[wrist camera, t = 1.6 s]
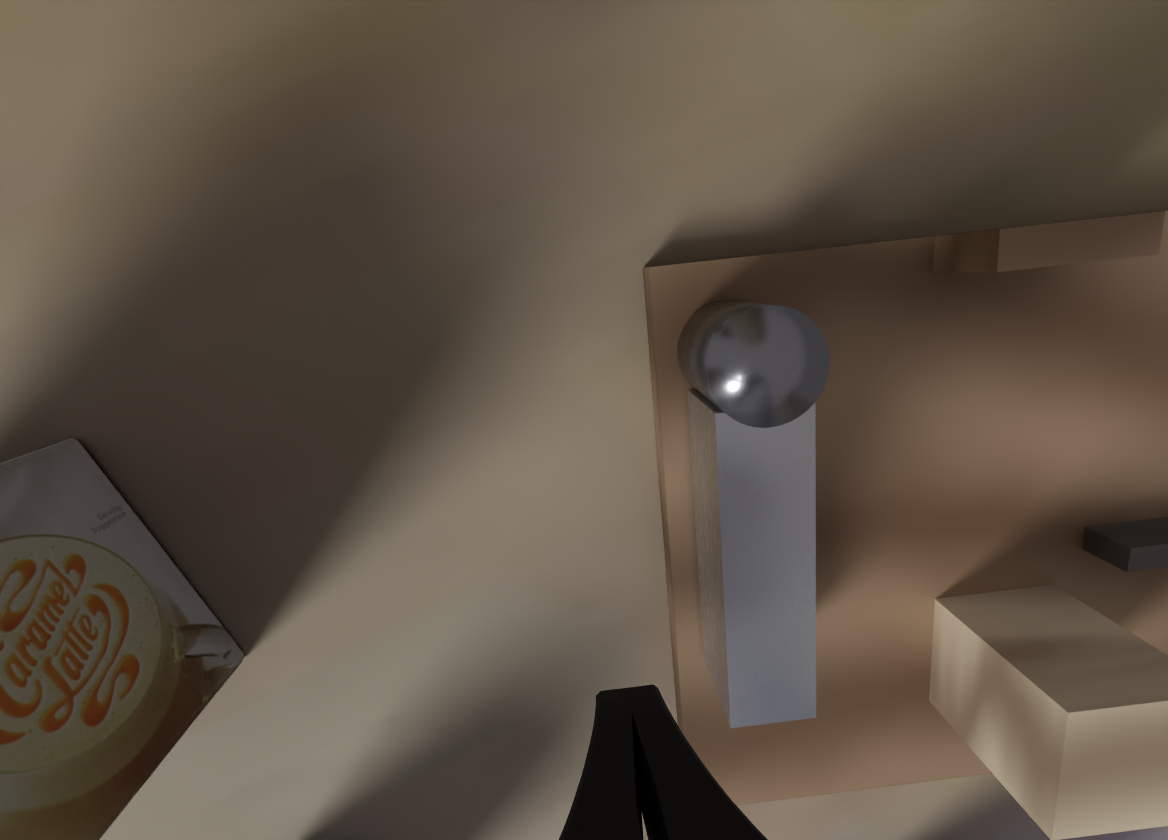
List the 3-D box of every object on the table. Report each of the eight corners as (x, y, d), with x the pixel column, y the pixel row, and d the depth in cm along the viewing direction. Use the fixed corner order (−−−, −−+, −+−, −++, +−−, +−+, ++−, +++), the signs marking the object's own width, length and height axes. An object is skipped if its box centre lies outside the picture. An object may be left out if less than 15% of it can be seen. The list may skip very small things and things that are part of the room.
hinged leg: (673, 305, 16) (704, 312, 12) (773, 294, 16) (829, 298, 12) (696, 655, 19) (726, 737, 15) (780, 645, 19) (828, 725, 15)
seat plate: (1144, 724, 22) (1256, 810, 18) (682, 782, 21) (706, 880, 18) (1234, 203, 17) (1410, 184, 13) (643, 267, 17) (665, 265, 13)
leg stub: (1042, 686, 20) (1201, 821, 15) (929, 700, 19) (1051, 840, 15) (1053, 584, 19) (1228, 693, 14) (934, 598, 18) (1068, 712, 14)
